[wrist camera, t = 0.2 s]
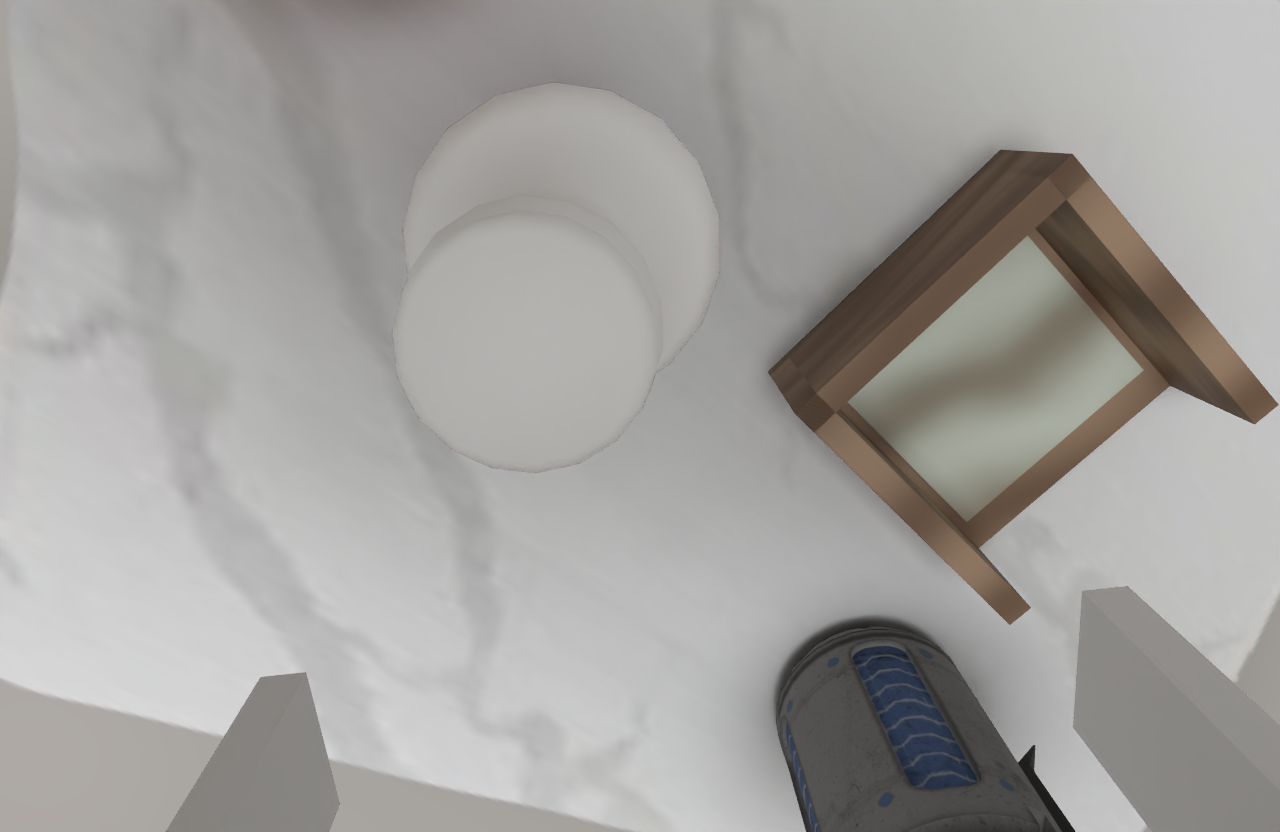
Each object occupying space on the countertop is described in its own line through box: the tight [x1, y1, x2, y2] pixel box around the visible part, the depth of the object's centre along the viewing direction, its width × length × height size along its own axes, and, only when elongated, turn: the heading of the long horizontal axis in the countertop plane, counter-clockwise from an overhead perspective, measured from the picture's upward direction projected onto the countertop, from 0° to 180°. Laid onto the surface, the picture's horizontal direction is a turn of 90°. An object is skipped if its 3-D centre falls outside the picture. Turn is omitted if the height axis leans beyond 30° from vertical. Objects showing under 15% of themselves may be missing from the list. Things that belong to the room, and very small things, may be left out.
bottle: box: [392, 82, 720, 473], centre depth 26 cm, size 8×8×30 cm
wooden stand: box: [768, 150, 1278, 625], centre depth 40 cm, size 14×14×7 cm
